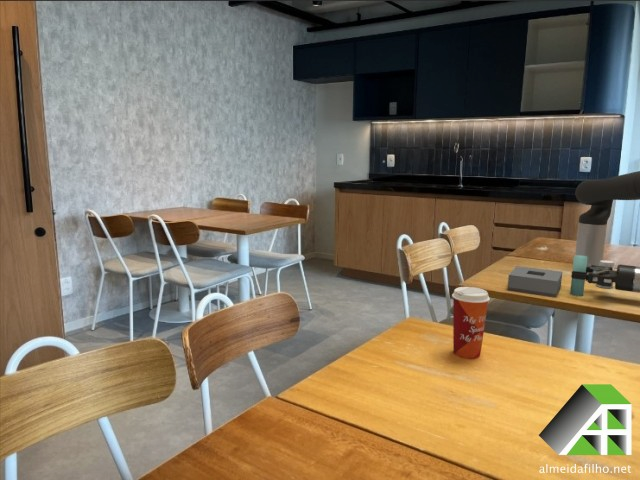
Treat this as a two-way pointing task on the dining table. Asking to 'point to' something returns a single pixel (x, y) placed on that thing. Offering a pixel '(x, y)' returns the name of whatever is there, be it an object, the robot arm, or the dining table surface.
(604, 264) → the supplement bottle
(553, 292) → the socket block
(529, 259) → the dining table surface
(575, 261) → the pin
